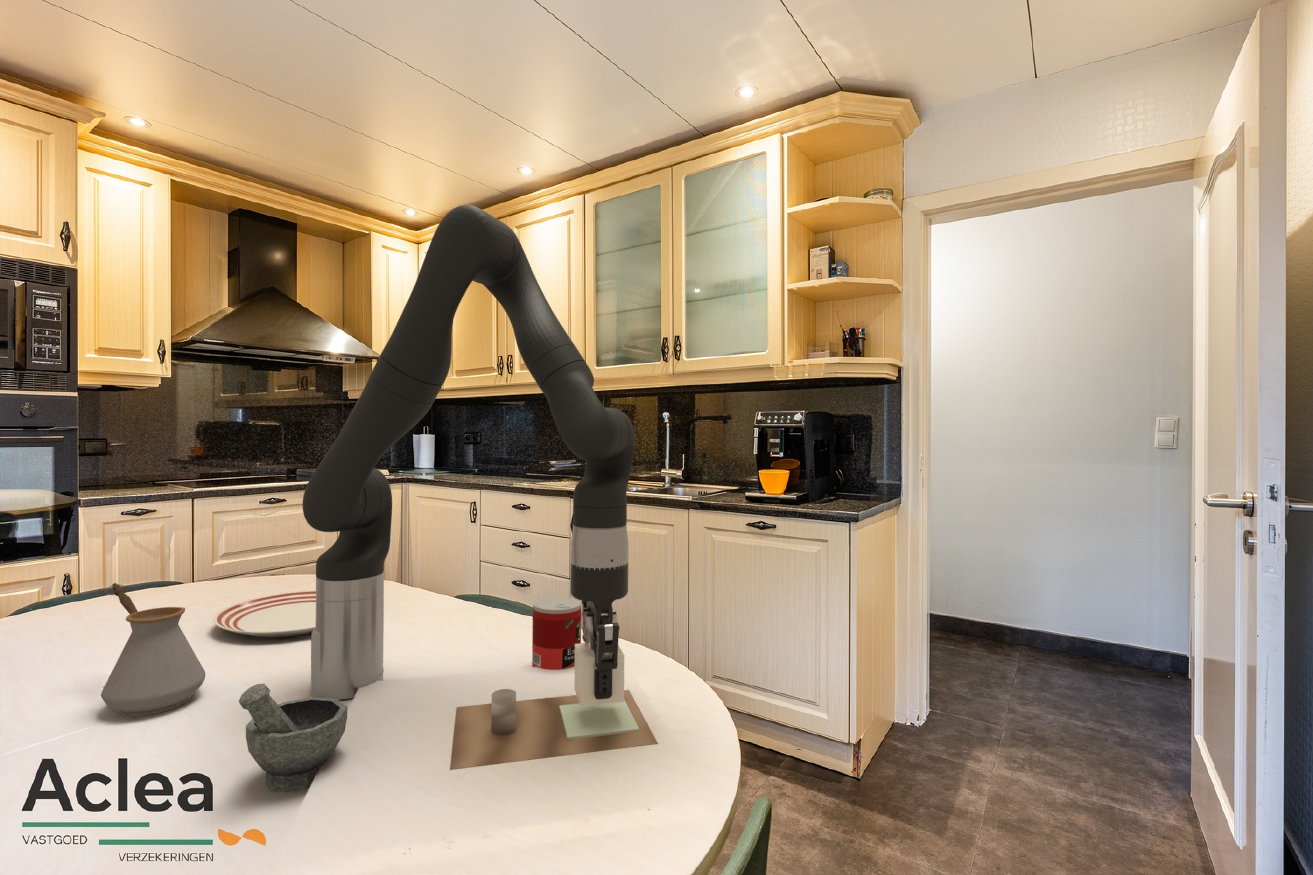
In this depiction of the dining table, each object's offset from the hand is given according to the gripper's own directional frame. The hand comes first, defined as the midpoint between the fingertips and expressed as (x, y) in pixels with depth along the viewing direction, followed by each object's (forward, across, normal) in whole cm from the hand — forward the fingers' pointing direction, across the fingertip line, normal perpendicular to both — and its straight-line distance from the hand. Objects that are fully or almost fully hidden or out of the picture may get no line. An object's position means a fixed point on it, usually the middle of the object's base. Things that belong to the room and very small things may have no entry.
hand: (598, 687), depth 81 cm
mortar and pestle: (+6, -3, +35) cm, 36 cm away
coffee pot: (+6, +26, +63) cm, 68 cm away
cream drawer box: (+1, 0, 0) cm, 1 cm away
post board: (+6, 0, +6) cm, 8 cm away
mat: (+4, 0, 0) cm, 4 cm away
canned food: (+6, +22, +3) cm, 23 cm away
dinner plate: (+6, +59, +51) cm, 78 cm away
